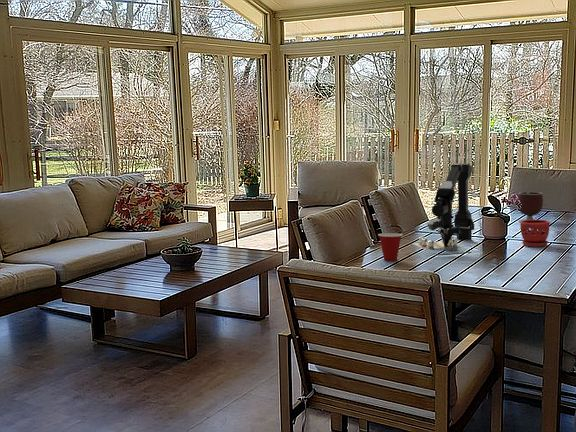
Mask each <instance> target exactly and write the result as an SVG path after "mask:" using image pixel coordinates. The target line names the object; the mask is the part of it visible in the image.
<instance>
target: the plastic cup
mask: <svg viewBox="0 0 576 432" xmlns="http://www.w3.org/2000/svg"><path fill="white" fill-rule="evenodd" d="M377 235H378V237H379V240H380V245H381V250H382V255H383V256H382V257H383V259H384V261H387V262H394V261H397V260H398V255H399V251H400V244H401V239H402V237H403V234H402V233H397V232H395V233H393V232H392V233H388V232H387V233H386V232H385V233H378V234H377Z"/></svg>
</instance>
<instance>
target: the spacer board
mask: <svg viewBox="0 0 576 432" xmlns="http://www.w3.org/2000/svg"><path fill="white" fill-rule="evenodd" d="M412 245H414V246H416V247H419V248H421V249H423V250H432V249H435V250H436V249H444V244H443V243H442V240H441V241H434V248H432V249H430V248H428V241H427V246H426V247H423V246H422V244H419V242H416V243H412ZM448 245H450V244H449V243H448ZM458 247H459V248H460V247H463V245H462V244H459V243H457V248H458Z"/></svg>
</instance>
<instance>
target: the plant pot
mask: <svg viewBox="0 0 576 432" xmlns="http://www.w3.org/2000/svg"><path fill="white" fill-rule="evenodd" d="M519 224H520V233H521V237H522V244H523V245H524V246H527V247H534V248H536V247H537V248H541V247H545V246H547V245H548V244H549V240H547V239H548V237H549V234H550V221H549V220H546V219H534V220H524V221H521V222H519Z"/></svg>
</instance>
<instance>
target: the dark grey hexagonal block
mask: <svg viewBox="0 0 576 432" xmlns="http://www.w3.org/2000/svg"><path fill="white" fill-rule="evenodd" d="M443 251H445V252H457V251H458V247H457V245H444V248H443Z"/></svg>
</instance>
